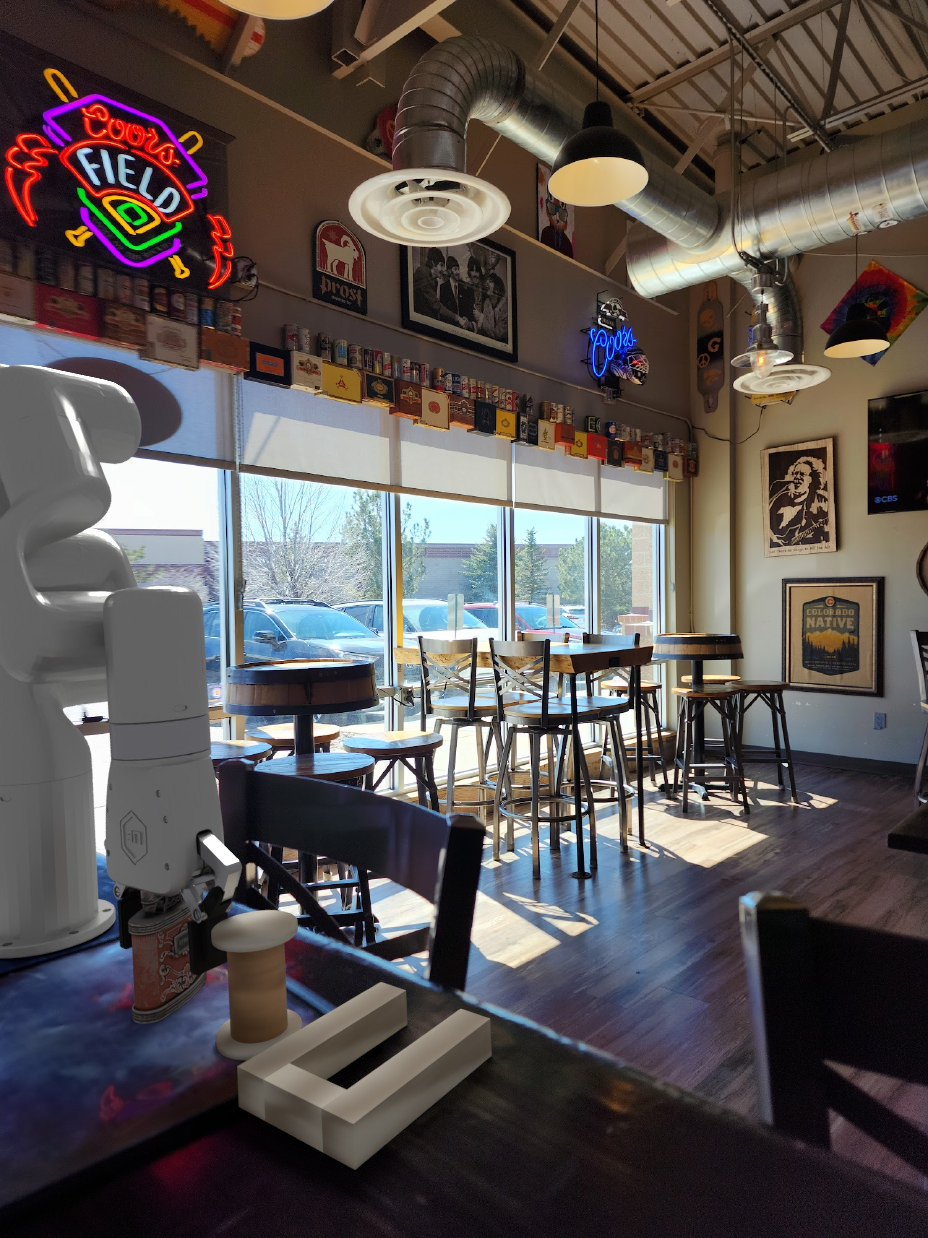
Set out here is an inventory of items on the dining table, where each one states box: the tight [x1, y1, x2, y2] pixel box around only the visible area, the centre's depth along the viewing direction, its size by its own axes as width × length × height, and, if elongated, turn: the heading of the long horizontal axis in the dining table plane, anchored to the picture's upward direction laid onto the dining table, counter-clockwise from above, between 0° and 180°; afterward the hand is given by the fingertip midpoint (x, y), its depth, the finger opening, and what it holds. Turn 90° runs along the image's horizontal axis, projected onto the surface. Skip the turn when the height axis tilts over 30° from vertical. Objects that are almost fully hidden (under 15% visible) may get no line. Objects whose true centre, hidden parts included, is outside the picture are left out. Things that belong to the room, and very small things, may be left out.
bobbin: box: [211, 909, 303, 1061], centre depth 57 cm, size 6×6×8 cm
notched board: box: [236, 981, 493, 1171], centre depth 51 cm, size 10×13×2 cm
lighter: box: [128, 878, 208, 1024], centre depth 63 cm, size 8×3×10 cm, turn 168°
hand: (173, 955), depth 63 cm, fingers open, 9 cm apart
